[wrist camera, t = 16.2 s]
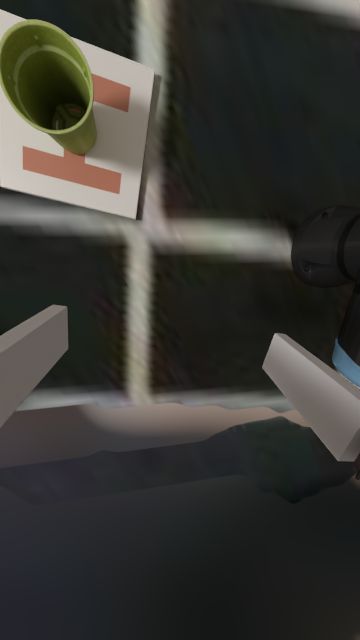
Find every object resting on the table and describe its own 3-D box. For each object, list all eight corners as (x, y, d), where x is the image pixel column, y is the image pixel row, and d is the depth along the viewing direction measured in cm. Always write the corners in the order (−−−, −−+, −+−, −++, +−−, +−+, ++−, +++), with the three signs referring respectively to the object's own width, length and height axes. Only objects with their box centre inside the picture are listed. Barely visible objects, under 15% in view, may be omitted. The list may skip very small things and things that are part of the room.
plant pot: (37, 80, 28) (-11, 4, 19) (109, 98, 29) (93, 34, 21) (42, 160, 30) (1, 122, 22) (108, 172, 32) (93, 142, 23)
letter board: (154, 75, 30) (154, 69, 29) (135, 219, 35) (135, 218, 34) (1, 16, 26) (-5, 7, 25) (5, 188, 31) (0, 186, 30)
